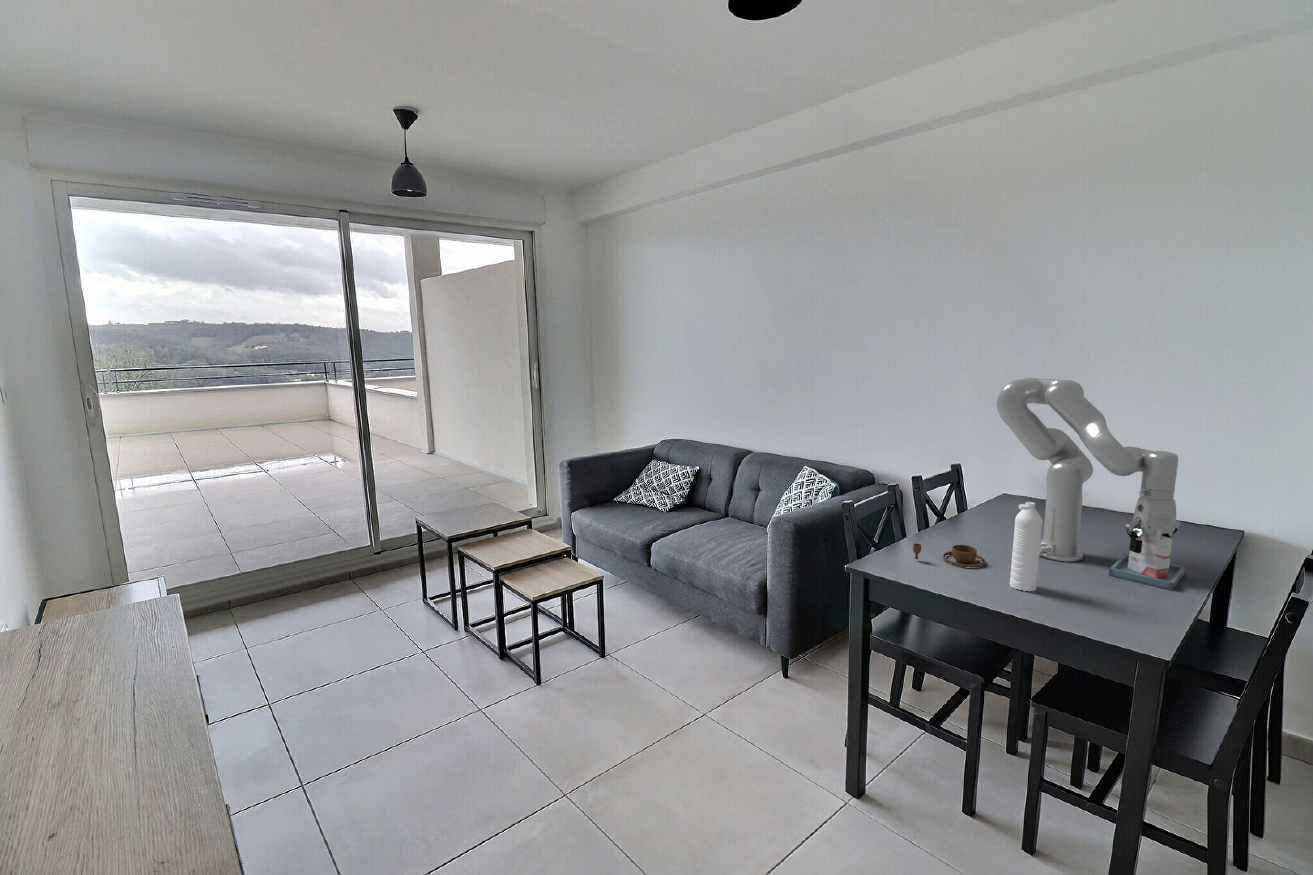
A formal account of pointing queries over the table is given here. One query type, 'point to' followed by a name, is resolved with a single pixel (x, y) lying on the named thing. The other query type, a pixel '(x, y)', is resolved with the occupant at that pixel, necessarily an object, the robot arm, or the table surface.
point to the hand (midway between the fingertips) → (1149, 550)
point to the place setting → (957, 555)
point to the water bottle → (1026, 548)
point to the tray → (1167, 583)
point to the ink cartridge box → (1152, 556)
